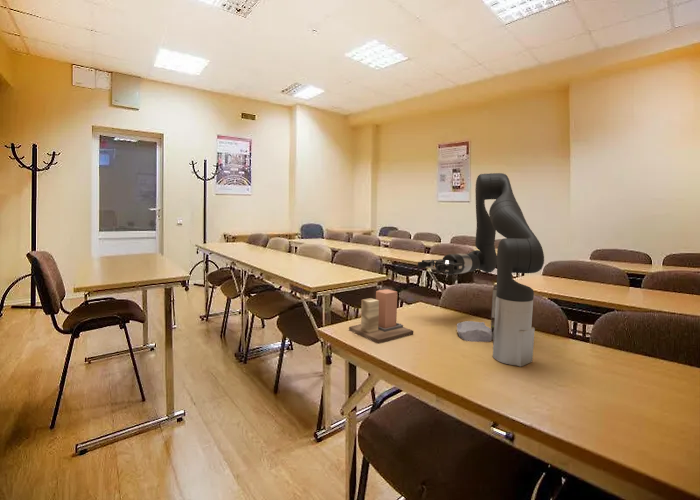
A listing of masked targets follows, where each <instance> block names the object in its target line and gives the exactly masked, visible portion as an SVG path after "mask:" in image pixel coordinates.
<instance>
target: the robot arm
mask: <svg viewBox="0 0 700 500" xmlns="http://www.w3.org/2000/svg"><path fill="white" fill-rule="evenodd" d="M485 200H487V201H488V200H494V201H493V202H492V204H491V206H490V208H489V211H488V210H487V209H486V204H485V202H486V201H485ZM475 217H476V220H475V221H476V228H475V230H476V231H475V232H476V233H475V243H474V244H475V247H476V249H475V250H471V251H470V252H468V253H449V254H445V255H444V256H443V258H439V259H422V260H421V261H418V262H417V268H418V269H431V270H436V272H444V273H445V274H446V275H451V276H453V275H459V274H466V273H470V272H474V271H477V270H480V271H482V272H484V273H489V274H490V273H492V272H493V271H494V270H495V269H496V285H497V292H496V307H495V324H494V340H492V341H493V342H492V343H493V347H492V357H493V359H495V361H496V362H497V361H498V362H499V363H502V364H506V365H510V366H518V367H524V366H526V365H528V364H531V363H532V362H533V359H534V358H533V356H534V344H535V343H534V342H535V330H536V329H535V327H534V326H532V321H533V309H534V307H533V306H534V294H535V293H534V289H533V288H532V287H530V286H528V285H525V284H523V283H520V282H518V281H516V280H515V279H514V278H513V274H535V273H539V272H540V271H541V270H542V268H543V267H544V264H545V253H544V250H543V246H542V245H541V242H540V240H539V239H538V237H537V236H536V234H534V232H533V230H532V228H530V226H529V224H528V223H527V220H526V219H525V216H524V214H523V211H522V209H521V207H520V205H519V203H518V202H517V199H516V196H515V194H514V192H513V188H512V185H511V181H510V178H509V177H508V175H507V174H506V173H504V172H503V173H502V172H496V173H495V172H494V173H492V172H491V173H480V174H479V175H478V176H477V177H476V181H475ZM496 233H499V235H501V236H502V237H504V238H502V239H500V241H499V242H498V244H497V250H496V247H495V246H496V245H495V242H496V241H495V240H496ZM477 249H478V250H477Z"/></svg>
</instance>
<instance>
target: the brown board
mask: <svg viewBox="0 0 700 500" xmlns="http://www.w3.org/2000/svg"><path fill="white" fill-rule="evenodd" d="M348 331H350V332H352V333H354V334H356V335H359V336H360V337H363V338H365V339H367V340H369V341H372V342H374V343H376V344H377V345H378V344H382V343H385V342H389V341H394V340H398V339H401V338H405V337H408V336H413V335H414V330H413V329H410V328H407V327H405V326H403V328H399V329H395V330H390V331H386V332H384V331H381V330H379V329H378V331H375V332H371V333H368V332H365V331H363V330H361V323H360V324H356V325H351V326H348Z"/></svg>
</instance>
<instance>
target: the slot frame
mask: <svg viewBox="0 0 700 500" xmlns="http://www.w3.org/2000/svg"><path fill="white" fill-rule="evenodd" d="M403 327H404V325H403V324H401V323H398V322H396V326H394V327H390V328H386V329H384V328H382V327H379V326H378V329H379V330H381V331H384V332H386V331H390V330H395V329H399V328H403Z"/></svg>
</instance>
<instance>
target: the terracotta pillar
mask: <svg viewBox="0 0 700 500" xmlns="http://www.w3.org/2000/svg"><path fill="white" fill-rule="evenodd" d="M375 299H376V300H379V320H378V326H379V327H382V328H384V329H386V328H390V327H394V326H396V323H397V317H398V316H397V314H398V312H397V309H398V291H396V290H392V289H388V288H386V289H385V288H384V289H380V290H376V291H375Z"/></svg>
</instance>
